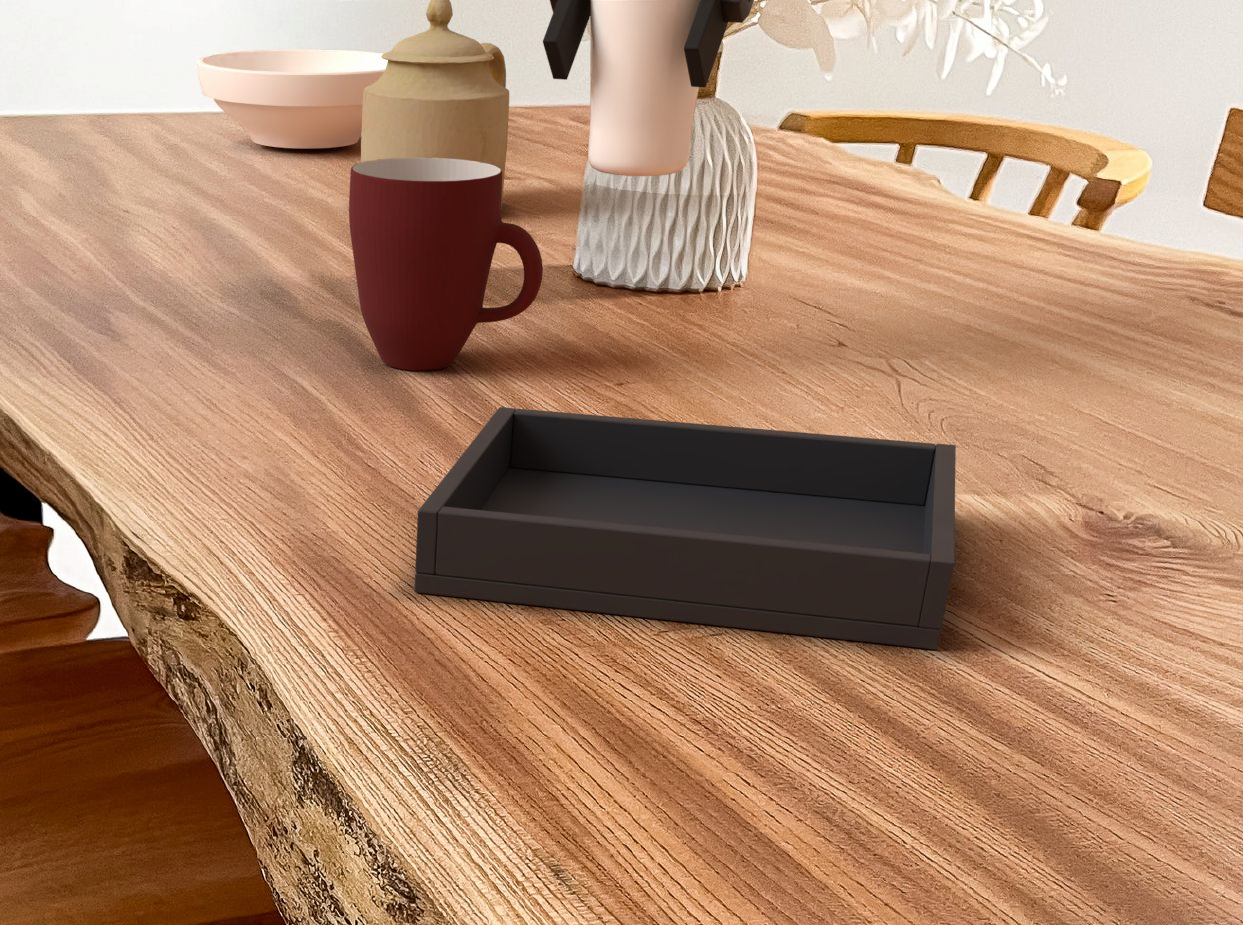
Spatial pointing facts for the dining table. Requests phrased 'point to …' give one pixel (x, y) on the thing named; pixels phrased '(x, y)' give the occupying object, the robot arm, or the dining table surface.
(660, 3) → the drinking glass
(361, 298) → the mug
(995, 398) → the dining table surface
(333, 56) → the bowl
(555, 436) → the tray
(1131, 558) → the dining table surface
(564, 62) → the robot arm
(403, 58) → the sugar bowl
